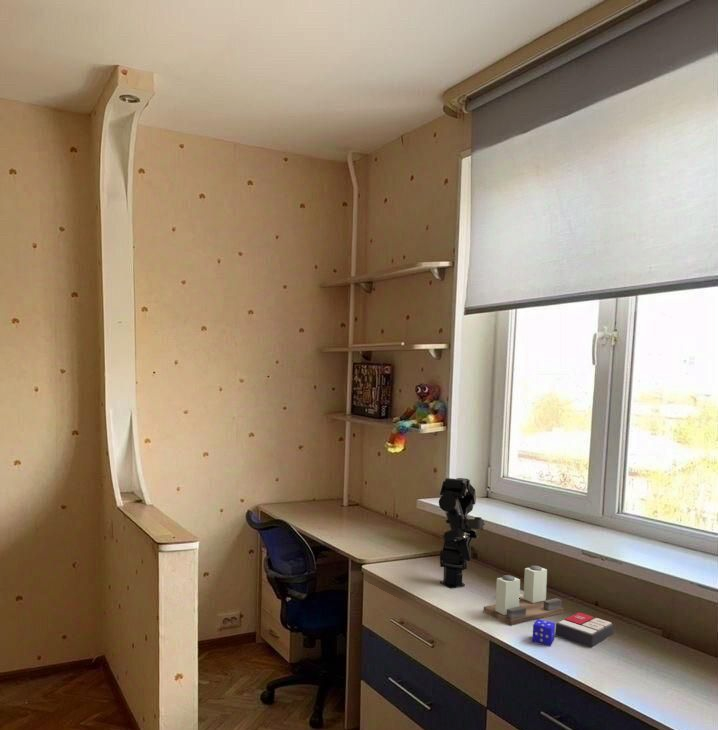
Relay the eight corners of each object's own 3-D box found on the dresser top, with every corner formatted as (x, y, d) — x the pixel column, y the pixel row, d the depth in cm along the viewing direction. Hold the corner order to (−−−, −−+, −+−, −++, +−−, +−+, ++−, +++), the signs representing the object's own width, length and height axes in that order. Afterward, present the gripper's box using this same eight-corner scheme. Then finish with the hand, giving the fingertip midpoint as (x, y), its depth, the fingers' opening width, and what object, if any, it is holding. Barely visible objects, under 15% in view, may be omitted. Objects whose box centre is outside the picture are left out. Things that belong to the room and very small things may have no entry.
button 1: (495, 610, 195) (496, 576, 196) (509, 607, 199) (510, 573, 199) (504, 615, 192) (506, 580, 192) (518, 612, 195) (520, 577, 195)
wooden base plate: (483, 611, 199) (483, 598, 199) (534, 600, 211) (535, 588, 211) (511, 625, 189) (511, 612, 189) (563, 613, 201) (564, 600, 201)
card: (507, 593, 217) (507, 591, 217) (520, 590, 220) (520, 589, 220) (525, 601, 210) (525, 599, 210) (537, 598, 213) (538, 596, 213)
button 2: (523, 599, 207) (524, 566, 207) (536, 596, 210) (537, 564, 210) (532, 603, 204) (534, 570, 204) (545, 600, 207) (547, 567, 207)
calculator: (614, 622, 187) (592, 632, 176) (613, 636, 187) (591, 648, 176) (578, 610, 194) (555, 620, 184) (577, 625, 194) (554, 635, 183)
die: (550, 646, 176) (551, 628, 176) (532, 642, 178) (533, 624, 178) (554, 640, 180) (555, 622, 180) (536, 636, 182) (537, 618, 182)
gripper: (466, 505, 205) (482, 553, 198) (485, 509, 220) (500, 553, 214) (436, 516, 209) (450, 564, 203) (456, 519, 225) (471, 563, 218)
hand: (469, 561), depth 209 cm, fingers closed
